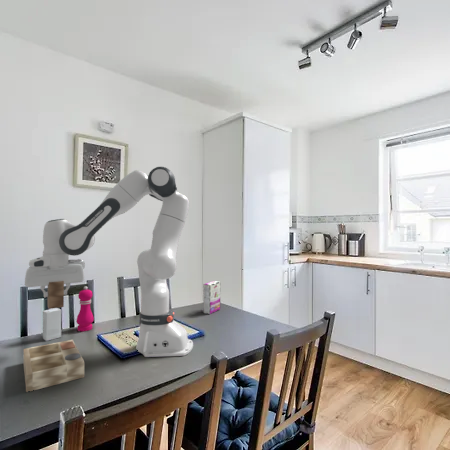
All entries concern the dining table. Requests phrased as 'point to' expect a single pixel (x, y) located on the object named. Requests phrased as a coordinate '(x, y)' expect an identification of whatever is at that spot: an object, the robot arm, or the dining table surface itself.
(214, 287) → the candy bar box
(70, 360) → the tag socket block
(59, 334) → the skincare box
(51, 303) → the plug
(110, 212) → the robot arm
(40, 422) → the dining table surface
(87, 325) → the pepper mill
